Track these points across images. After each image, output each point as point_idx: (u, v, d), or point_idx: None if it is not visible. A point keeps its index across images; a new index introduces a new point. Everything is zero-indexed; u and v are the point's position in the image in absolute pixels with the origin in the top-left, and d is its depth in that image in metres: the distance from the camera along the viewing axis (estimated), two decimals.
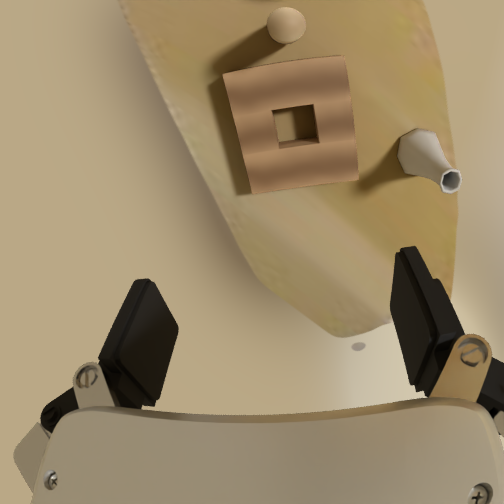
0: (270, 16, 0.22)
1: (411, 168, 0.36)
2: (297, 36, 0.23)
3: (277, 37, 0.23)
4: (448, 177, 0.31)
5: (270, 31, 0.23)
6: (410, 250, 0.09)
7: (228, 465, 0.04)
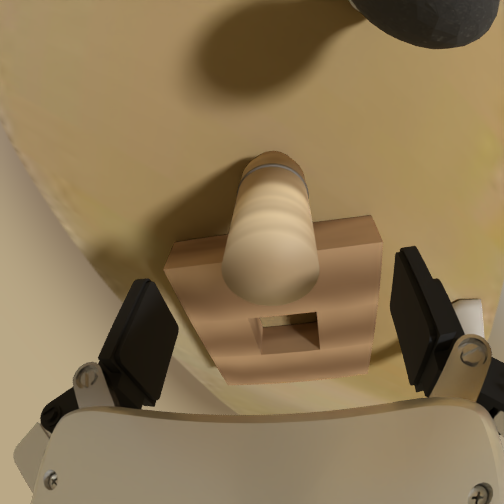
0: (229, 255, 0.11)
1: None
2: (295, 297, 0.12)
3: (248, 298, 0.12)
4: None
5: (231, 286, 0.12)
6: (410, 250, 0.09)
7: (228, 465, 0.04)
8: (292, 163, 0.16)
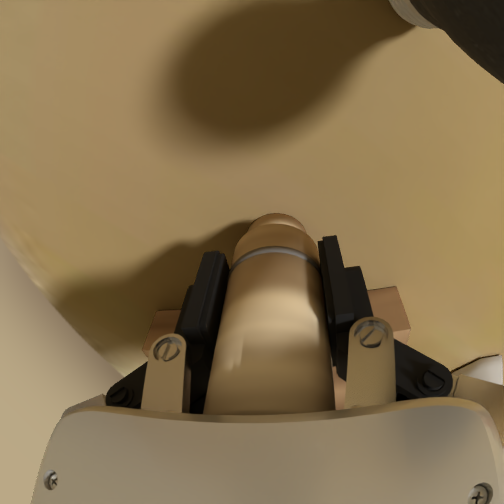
0: None
1: None
2: None
3: None
4: None
5: None
6: (329, 239, 0.11)
7: (228, 465, 0.04)
8: (303, 240, 0.12)
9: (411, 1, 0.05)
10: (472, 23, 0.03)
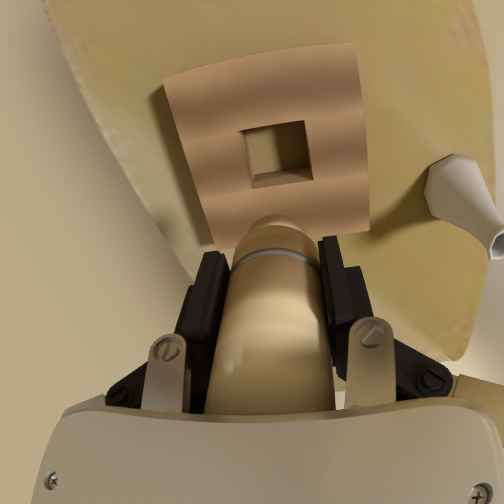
0: None
1: (443, 212, 0.25)
2: None
3: None
4: None
5: None
6: (329, 239, 0.11)
7: (228, 465, 0.04)
8: (303, 241, 0.12)
9: None
10: None
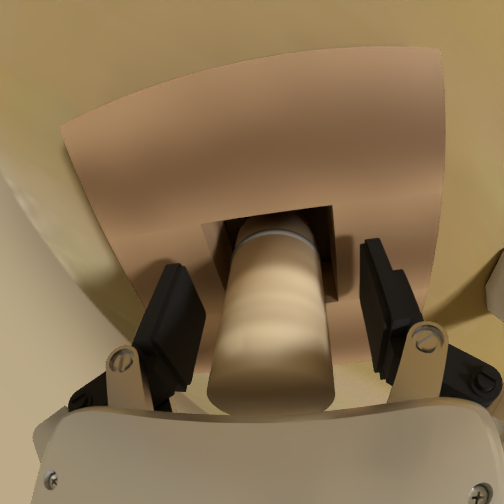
0: (216, 383, 0.08)
1: None
2: None
3: None
4: None
5: (221, 407, 0.09)
6: (373, 241, 0.10)
7: (228, 465, 0.04)
8: (302, 224, 0.12)
9: None
10: None
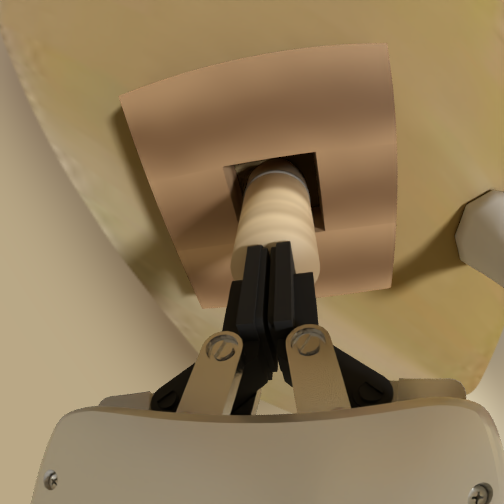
0: (238, 253, 0.12)
1: (477, 262, 0.19)
2: None
3: None
4: None
5: None
6: (282, 245, 0.11)
7: (228, 465, 0.04)
8: (295, 169, 0.17)
9: None
10: None
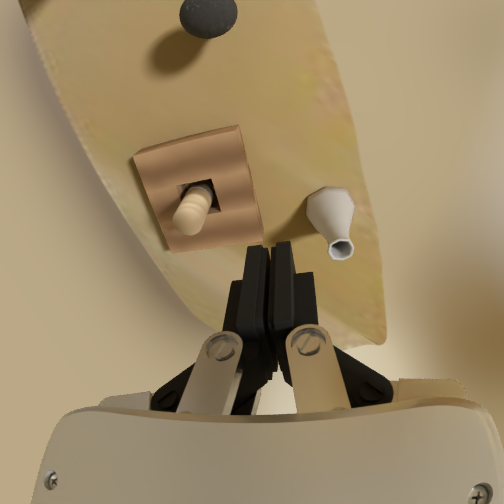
0: (174, 216, 0.35)
1: (316, 227, 0.42)
2: (196, 231, 0.36)
3: (182, 232, 0.36)
4: (347, 241, 0.37)
5: (176, 227, 0.36)
6: (282, 245, 0.11)
7: (228, 465, 0.04)
8: (206, 185, 0.40)
9: None
10: (188, 32, 0.24)
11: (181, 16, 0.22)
